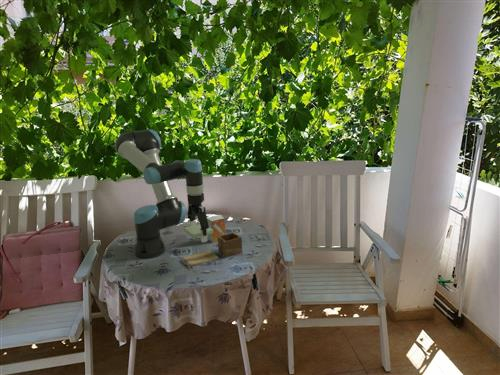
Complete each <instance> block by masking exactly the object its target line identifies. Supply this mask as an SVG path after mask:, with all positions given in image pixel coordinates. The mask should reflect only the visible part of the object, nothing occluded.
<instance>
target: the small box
mask: <svg viewBox="0 0 500 375" xmlns="http://www.w3.org/2000/svg"><path fill="white" fill-rule="evenodd" d="M207 221H208V225H209V227H210V228H211V229H213V233H211V234H207V241H210V242H211V243H212V244H213V243H218V236H222V235H225V234H227V233H226V219H225V217H224V216H223V215H220V214H218V215H217V214H216V215H213V216H210V217H207Z"/></svg>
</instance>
